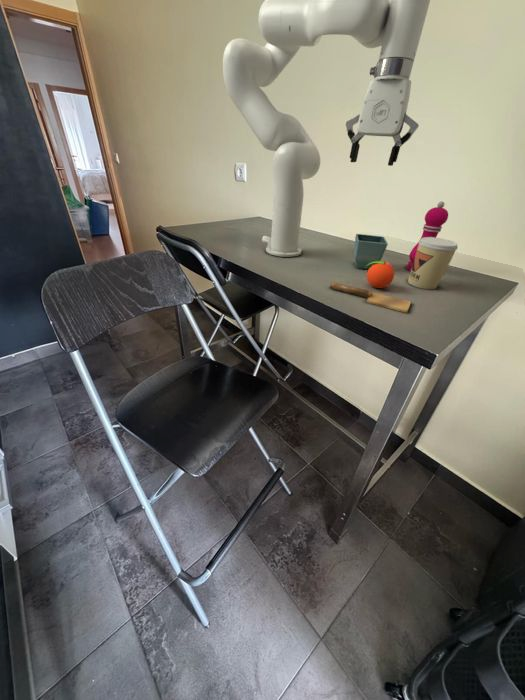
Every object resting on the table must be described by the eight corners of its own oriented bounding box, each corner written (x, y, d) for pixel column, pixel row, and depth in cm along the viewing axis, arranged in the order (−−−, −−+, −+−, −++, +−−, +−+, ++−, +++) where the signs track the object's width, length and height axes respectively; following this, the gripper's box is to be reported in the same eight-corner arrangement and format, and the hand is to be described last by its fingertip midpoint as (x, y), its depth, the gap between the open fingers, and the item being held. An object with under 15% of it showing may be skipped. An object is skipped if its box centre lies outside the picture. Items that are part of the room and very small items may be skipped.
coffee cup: (400, 277, 86) (414, 235, 79) (430, 279, 86) (447, 237, 79) (412, 289, 78) (429, 244, 72) (446, 291, 79) (466, 247, 72)
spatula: (326, 291, 74) (327, 285, 73) (333, 284, 78) (334, 278, 77) (406, 313, 66) (409, 306, 65) (410, 303, 71) (412, 297, 69)
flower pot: (379, 273, 88) (388, 243, 83) (350, 269, 89) (357, 240, 84) (376, 264, 95) (384, 236, 90) (349, 261, 96) (355, 233, 91)
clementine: (358, 288, 77) (365, 262, 73) (361, 280, 82) (367, 255, 78) (389, 294, 75) (398, 267, 71) (389, 285, 80) (398, 260, 76)
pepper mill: (401, 269, 92) (425, 200, 81) (409, 264, 97) (432, 198, 85) (424, 275, 89) (452, 204, 77) (431, 270, 93) (459, 202, 82)
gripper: (350, 71, 65) (334, 160, 75) (433, 68, 58) (403, 167, 68) (359, 78, 70) (343, 161, 80) (436, 76, 63) (408, 166, 73)
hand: (371, 163), depth 74 cm, fingers open, 9 cm apart
